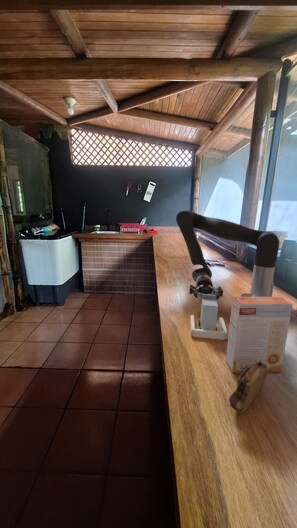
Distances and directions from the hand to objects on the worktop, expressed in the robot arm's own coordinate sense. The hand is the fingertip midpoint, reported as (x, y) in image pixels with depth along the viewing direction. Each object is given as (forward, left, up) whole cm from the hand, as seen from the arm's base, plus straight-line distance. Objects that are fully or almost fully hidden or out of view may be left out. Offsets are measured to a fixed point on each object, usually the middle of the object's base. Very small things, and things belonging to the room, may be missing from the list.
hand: (207, 296), depth 98 cm
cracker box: (-11, +31, -9) cm, 34 cm away
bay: (0, +12, -8) cm, 15 cm away
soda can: (-15, +5, -9) cm, 18 cm away
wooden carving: (-6, +45, -9) cm, 46 cm away
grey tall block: (0, +12, -8) cm, 14 cm away
